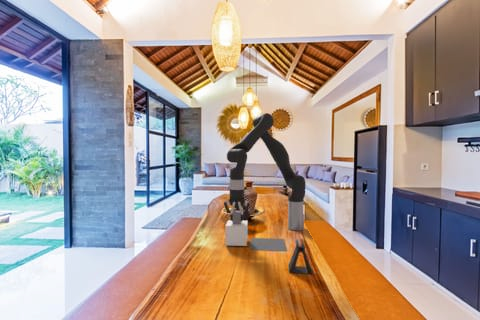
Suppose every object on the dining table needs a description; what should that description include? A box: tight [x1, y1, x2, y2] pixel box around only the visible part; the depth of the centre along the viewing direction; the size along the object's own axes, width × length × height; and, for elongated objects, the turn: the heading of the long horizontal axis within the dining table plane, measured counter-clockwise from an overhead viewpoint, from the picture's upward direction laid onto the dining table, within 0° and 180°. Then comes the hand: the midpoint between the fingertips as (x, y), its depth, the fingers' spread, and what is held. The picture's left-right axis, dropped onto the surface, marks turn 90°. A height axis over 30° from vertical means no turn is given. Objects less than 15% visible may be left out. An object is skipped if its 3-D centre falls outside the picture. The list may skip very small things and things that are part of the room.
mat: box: [249, 237, 288, 252], centre depth 138 cm, size 18×18×1 cm
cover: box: [224, 210, 249, 247], centre depth 139 cm, size 11×11×16 cm
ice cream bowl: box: [235, 203, 252, 221], centre depth 169 cm, size 11×11×15 cm
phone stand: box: [288, 238, 313, 275], centre depth 109 cm, size 9×6×12 cm, turn 82°
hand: (236, 221), depth 139 cm, fingers closed on cover, 4 cm apart
